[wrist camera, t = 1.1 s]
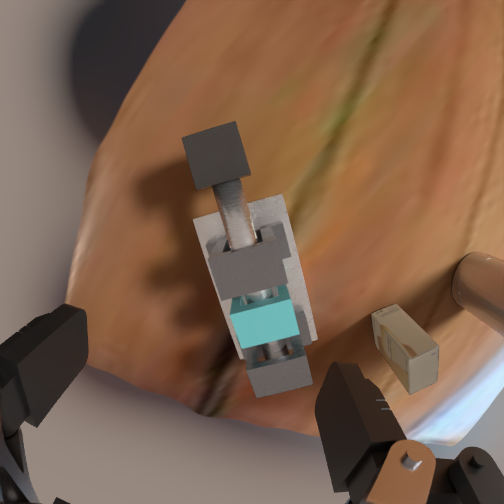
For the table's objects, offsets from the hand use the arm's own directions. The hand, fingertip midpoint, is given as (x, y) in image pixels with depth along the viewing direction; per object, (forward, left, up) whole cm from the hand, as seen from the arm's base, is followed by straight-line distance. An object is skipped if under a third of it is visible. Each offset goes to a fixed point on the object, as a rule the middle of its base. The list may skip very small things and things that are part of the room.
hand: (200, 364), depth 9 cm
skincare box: (-17, +20, -29) cm, 38 cm away
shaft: (-1, +3, -24) cm, 24 cm away
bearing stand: (-1, +8, -28) cm, 29 cm away
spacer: (-1, +9, -24) cm, 25 cm away
